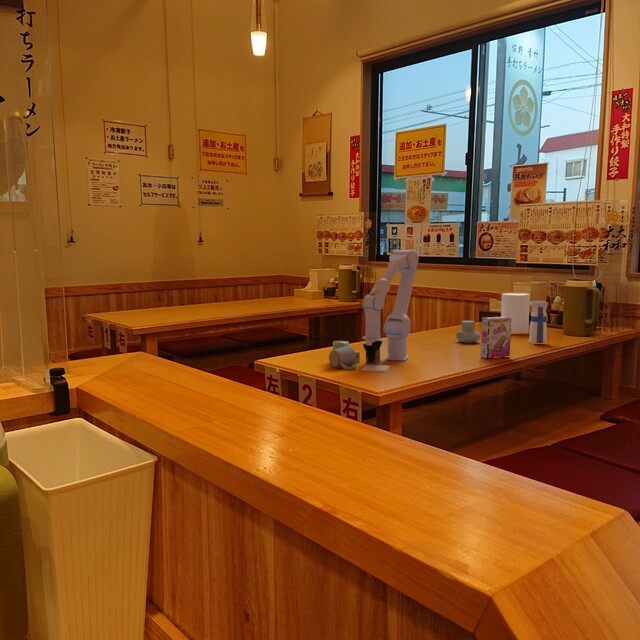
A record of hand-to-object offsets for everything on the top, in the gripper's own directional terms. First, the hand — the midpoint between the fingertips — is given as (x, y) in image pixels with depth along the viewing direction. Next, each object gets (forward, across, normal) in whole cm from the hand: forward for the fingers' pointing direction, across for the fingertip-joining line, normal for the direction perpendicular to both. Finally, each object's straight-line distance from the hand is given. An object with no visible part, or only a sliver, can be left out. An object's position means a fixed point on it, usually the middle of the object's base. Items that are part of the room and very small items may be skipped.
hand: (372, 360), depth 230 cm
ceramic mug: (+2, +8, -9) cm, 12 cm away
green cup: (+1, -1, -13) cm, 13 cm away
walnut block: (+2, 0, 0) cm, 2 cm away
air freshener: (+2, -61, +32) cm, 69 cm away
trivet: (+1, +8, +3) cm, 9 cm away
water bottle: (+2, -66, +63) cm, 91 cm away
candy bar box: (+2, -26, +45) cm, 52 cm away
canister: (+2, -97, +53) cm, 111 cm away
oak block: (+2, -4, -9) cm, 10 cm away
